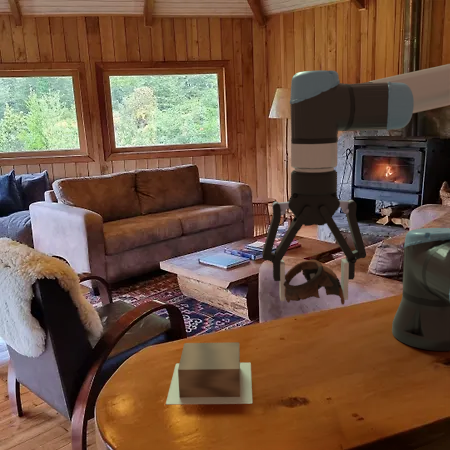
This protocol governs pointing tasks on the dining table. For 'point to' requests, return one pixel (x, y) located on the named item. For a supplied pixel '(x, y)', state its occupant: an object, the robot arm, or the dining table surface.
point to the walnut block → (209, 370)
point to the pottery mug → (312, 281)
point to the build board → (243, 399)
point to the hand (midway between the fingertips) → (313, 297)
